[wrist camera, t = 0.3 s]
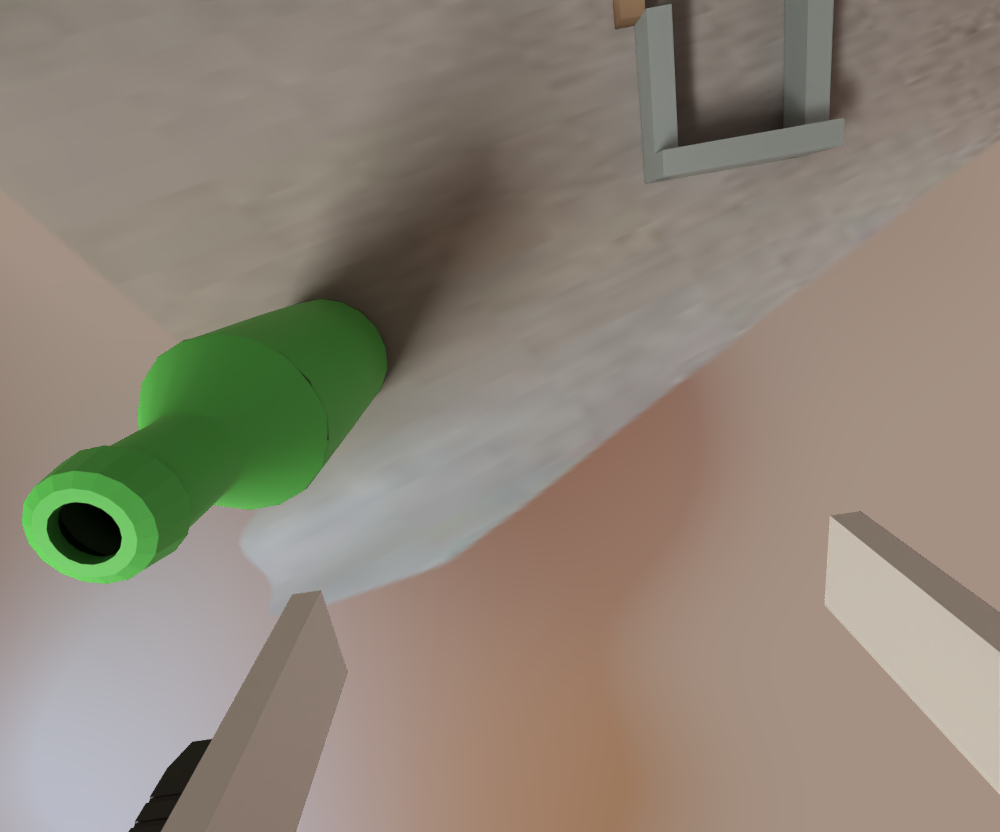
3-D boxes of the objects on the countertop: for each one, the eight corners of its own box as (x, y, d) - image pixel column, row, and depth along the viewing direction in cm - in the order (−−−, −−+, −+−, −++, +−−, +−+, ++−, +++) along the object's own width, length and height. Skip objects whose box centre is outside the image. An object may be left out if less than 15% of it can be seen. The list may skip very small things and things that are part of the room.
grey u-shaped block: (634, 25, 32) (654, -4, 29) (809, -7, 32) (852, -41, 28) (645, 183, 35) (663, 176, 32) (804, 155, 35) (843, 145, 31)
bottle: (344, 274, 37) (86, 332, 13) (412, 375, 39) (296, 574, 16) (248, 337, 38) (-144, 491, 15) (319, 430, 41) (84, 692, 17)
